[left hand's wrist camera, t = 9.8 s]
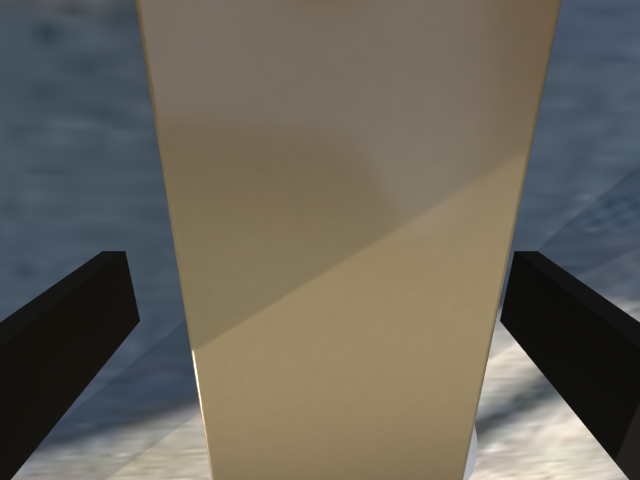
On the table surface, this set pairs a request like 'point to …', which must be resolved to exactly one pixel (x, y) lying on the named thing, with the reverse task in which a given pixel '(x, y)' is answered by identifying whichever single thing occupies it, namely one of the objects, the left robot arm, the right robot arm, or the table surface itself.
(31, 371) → the left robot arm
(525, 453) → the table surface
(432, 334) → the pine batten
